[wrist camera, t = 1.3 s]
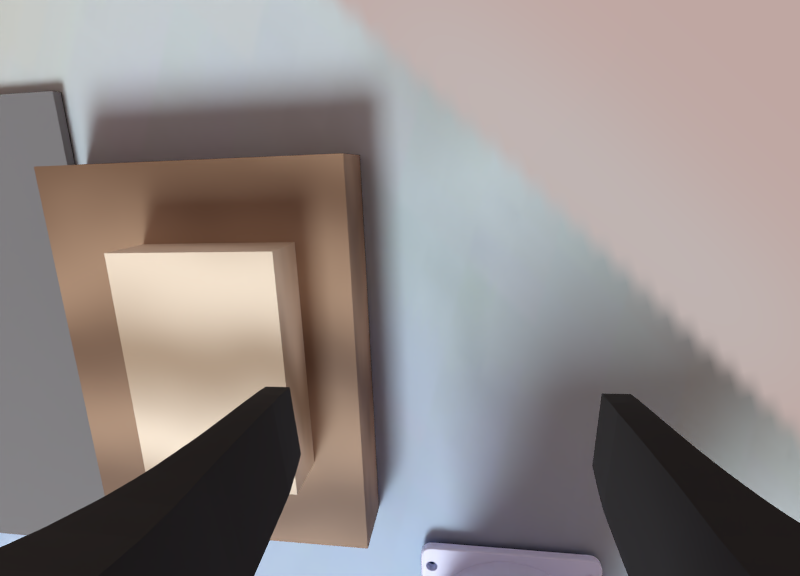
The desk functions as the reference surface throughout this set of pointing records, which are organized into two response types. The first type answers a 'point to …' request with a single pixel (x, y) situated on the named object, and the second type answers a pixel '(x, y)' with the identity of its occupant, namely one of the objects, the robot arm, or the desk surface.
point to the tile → (208, 337)
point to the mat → (37, 334)
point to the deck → (231, 223)
